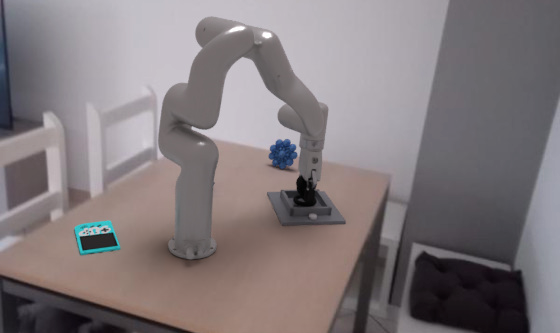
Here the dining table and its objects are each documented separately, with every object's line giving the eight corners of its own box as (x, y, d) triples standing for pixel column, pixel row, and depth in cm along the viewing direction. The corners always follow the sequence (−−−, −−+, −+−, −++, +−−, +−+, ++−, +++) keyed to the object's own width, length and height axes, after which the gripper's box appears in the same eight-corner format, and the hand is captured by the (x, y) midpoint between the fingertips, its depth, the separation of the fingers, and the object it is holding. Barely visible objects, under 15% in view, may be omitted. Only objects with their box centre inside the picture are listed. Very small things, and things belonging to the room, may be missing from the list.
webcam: (305, 195, 176) (309, 167, 172) (321, 204, 171) (325, 175, 167) (287, 200, 171) (291, 171, 167) (303, 209, 166) (307, 179, 162)
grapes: (300, 168, 204) (303, 138, 200) (292, 174, 198) (296, 143, 194) (272, 161, 209) (275, 132, 204) (264, 166, 203) (267, 136, 199)
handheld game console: (111, 223, 152) (111, 219, 152) (121, 251, 139) (121, 246, 139) (73, 228, 148) (73, 223, 148) (80, 257, 135) (80, 252, 134)
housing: (345, 223, 164) (346, 213, 163) (281, 225, 159) (282, 214, 158) (324, 193, 184) (325, 184, 183) (266, 194, 179) (267, 184, 178)
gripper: (332, 152, 157) (324, 208, 163) (315, 134, 172) (309, 185, 179) (307, 152, 155) (301, 208, 161) (293, 133, 171) (287, 185, 177)
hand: (305, 195), depth 170 cm, fingers closed on webcam, 6 cm apart
